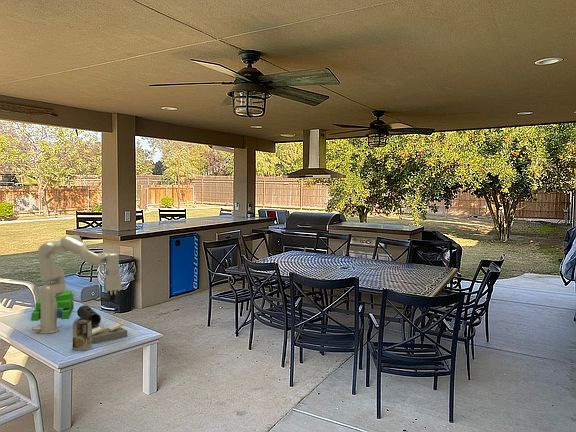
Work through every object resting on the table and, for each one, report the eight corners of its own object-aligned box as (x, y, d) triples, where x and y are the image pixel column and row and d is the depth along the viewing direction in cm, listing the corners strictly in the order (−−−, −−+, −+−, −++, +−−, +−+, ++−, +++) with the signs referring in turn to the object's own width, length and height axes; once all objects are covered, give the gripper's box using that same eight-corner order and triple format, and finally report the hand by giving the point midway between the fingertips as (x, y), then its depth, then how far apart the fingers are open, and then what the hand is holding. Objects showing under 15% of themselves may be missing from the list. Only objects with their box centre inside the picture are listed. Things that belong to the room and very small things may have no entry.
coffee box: (92, 346, 262) (92, 320, 261) (87, 350, 255) (88, 323, 255) (76, 346, 262) (77, 319, 261) (71, 349, 255) (72, 322, 254)
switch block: (93, 343, 266) (93, 335, 266) (85, 339, 274) (85, 331, 274) (127, 336, 283) (127, 328, 282) (118, 332, 291) (118, 324, 290)
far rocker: (111, 331, 278) (110, 329, 278) (107, 329, 281) (107, 327, 281) (124, 324, 284) (123, 323, 284) (120, 323, 288) (120, 321, 287)
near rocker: (92, 334, 269) (91, 333, 269) (88, 333, 272) (88, 331, 272) (106, 328, 275) (105, 326, 275) (102, 326, 279) (102, 324, 279)
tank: (29, 324, 303) (29, 301, 302) (38, 310, 335) (39, 290, 334) (67, 322, 311) (68, 299, 310) (73, 309, 344) (74, 288, 343)
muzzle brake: (86, 329, 295) (86, 314, 294) (76, 319, 316) (76, 305, 316) (101, 327, 301) (101, 312, 300) (90, 317, 322) (90, 303, 322)
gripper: (103, 274, 271) (103, 303, 272) (126, 271, 282) (126, 299, 282) (98, 272, 276) (98, 301, 277) (120, 270, 287) (120, 297, 288)
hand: (112, 300), depth 280 cm, fingers closed
